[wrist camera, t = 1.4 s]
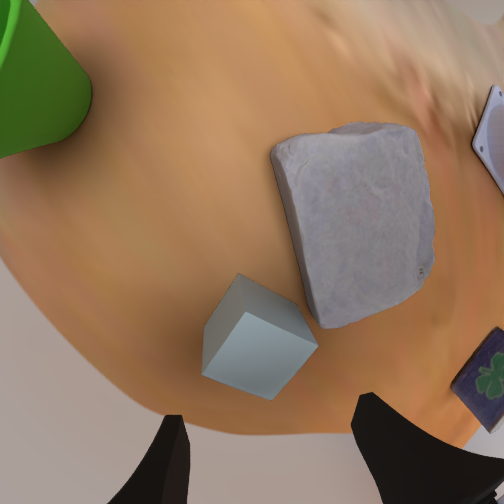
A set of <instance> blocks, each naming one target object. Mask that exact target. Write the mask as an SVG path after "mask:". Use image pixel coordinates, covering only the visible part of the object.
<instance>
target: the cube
mask: <svg viewBox="0 0 504 504" xmlns="http://www.w3.org/2000/svg"><path fill="white" fill-rule="evenodd" d="M318 346H319V345H318V343H317V342H316V340H315V338H314V336H313V334H312V332H311V330H310V328H309V326H308V324H307V323H306V321H305V319H304V317H303V315H302V313H301V311H300V309H299V308H298V306H297V304H296V303H294V302H292V301H290V300H288V299H286V298H284V297H282V296H281V295H279V294H277V293H275V292H273V291H271V290H269V289H267V288H265V287H264V286H262V285H260V284H258V283H256V282H254V281H252V280H250V279H249V278H247V277H245V276H243V275H241V274H239V273H238V275H237V276H236V278H235V279H234V281H233V283H232V284H231V286H230V287H229V289H228V290H227V292H226V294H225V295H224V297H223V298H222V300H221V301H220V303H219V305H218V306H217V308H216V309H215V311H214V312H213V314H212V316H211V317H210V319H209V320H208V322H207V323H206V325H205V327H204V337H203V354H202V374H201V375H203V376H205V377H208V378H210V379H213V380H215V381H218V382H221V383H223V384H226V385H228V386H231V387H234V388H236V389H239V390H242V391H245V392H247V393H250V394H253V395H256V396H259V397H262V398H265V399H268V400H272V399H273V398H274V397H275V396H276V395H277V394H278V393H279V392H280V391H281V390H282V388H283V387H284V386H285V385H286V384H287V383H288V382H289V381H290V379H291V378H292V377H293V376H294V375H295V374H296V372H297V371H298V370H299V369H300V368H301V367H302V365H303V364H304V363H305V362H306V361H307V359H308V358H309V357H310V356H311V355H312V353H313V352H314V351H315V350H316V348H317V347H318Z"/></svg>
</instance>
